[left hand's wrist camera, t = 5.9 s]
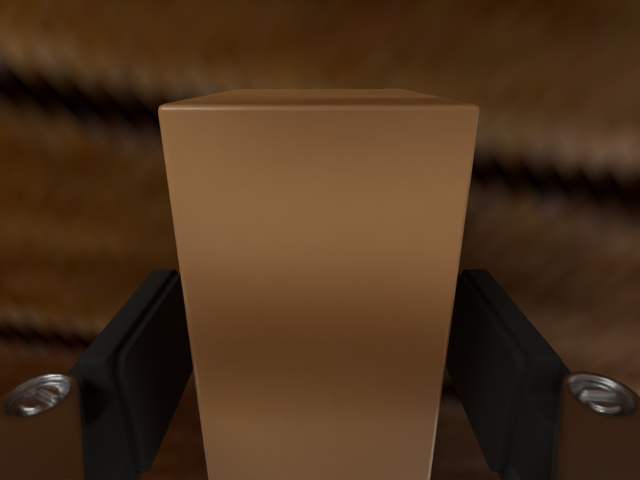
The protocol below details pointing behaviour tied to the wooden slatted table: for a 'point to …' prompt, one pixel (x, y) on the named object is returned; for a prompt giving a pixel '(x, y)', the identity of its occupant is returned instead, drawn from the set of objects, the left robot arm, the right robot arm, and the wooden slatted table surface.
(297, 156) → the bar
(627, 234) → the wooden slatted table surface
